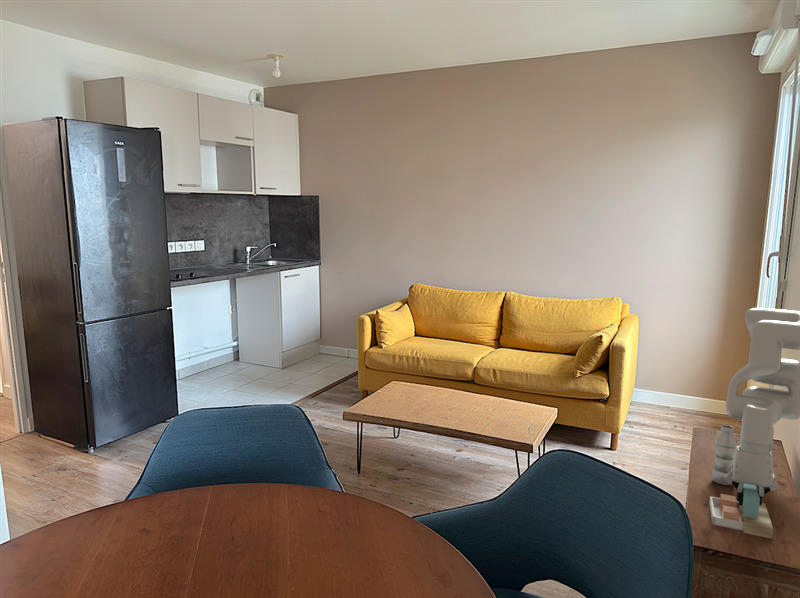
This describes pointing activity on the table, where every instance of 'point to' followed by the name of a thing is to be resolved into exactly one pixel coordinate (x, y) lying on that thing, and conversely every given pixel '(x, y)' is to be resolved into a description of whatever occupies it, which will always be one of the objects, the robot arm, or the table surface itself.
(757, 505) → the bar
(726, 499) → the tan cube
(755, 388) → the robot arm
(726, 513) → the peach cube
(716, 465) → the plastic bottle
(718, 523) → the tray
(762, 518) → the beige gold flat block
